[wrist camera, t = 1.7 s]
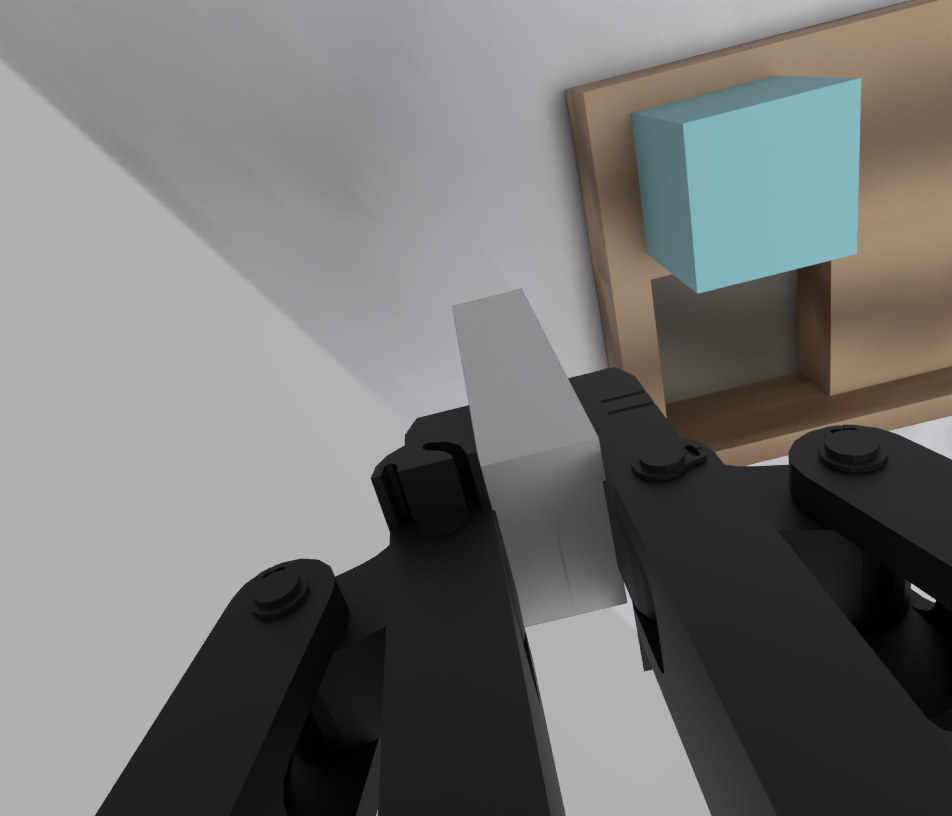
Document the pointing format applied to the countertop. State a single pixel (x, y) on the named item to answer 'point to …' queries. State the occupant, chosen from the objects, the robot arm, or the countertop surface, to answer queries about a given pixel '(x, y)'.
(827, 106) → the teal block
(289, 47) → the countertop surface
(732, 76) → the trap board
